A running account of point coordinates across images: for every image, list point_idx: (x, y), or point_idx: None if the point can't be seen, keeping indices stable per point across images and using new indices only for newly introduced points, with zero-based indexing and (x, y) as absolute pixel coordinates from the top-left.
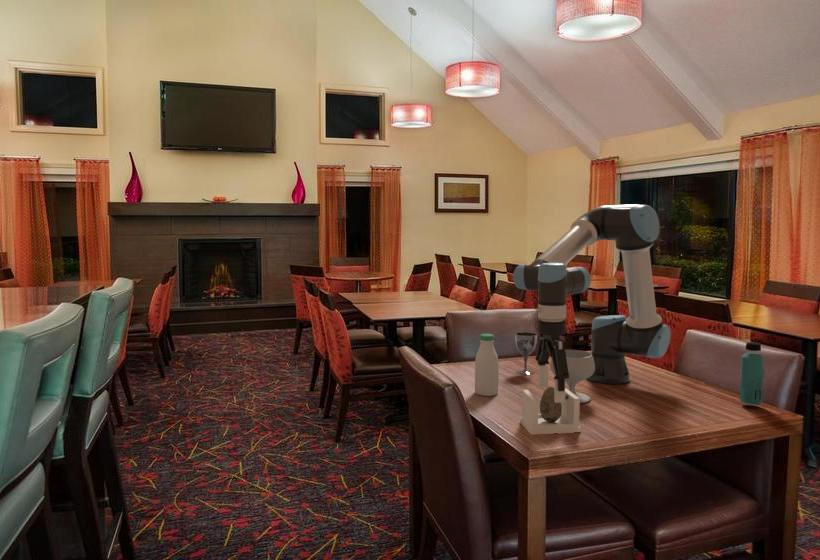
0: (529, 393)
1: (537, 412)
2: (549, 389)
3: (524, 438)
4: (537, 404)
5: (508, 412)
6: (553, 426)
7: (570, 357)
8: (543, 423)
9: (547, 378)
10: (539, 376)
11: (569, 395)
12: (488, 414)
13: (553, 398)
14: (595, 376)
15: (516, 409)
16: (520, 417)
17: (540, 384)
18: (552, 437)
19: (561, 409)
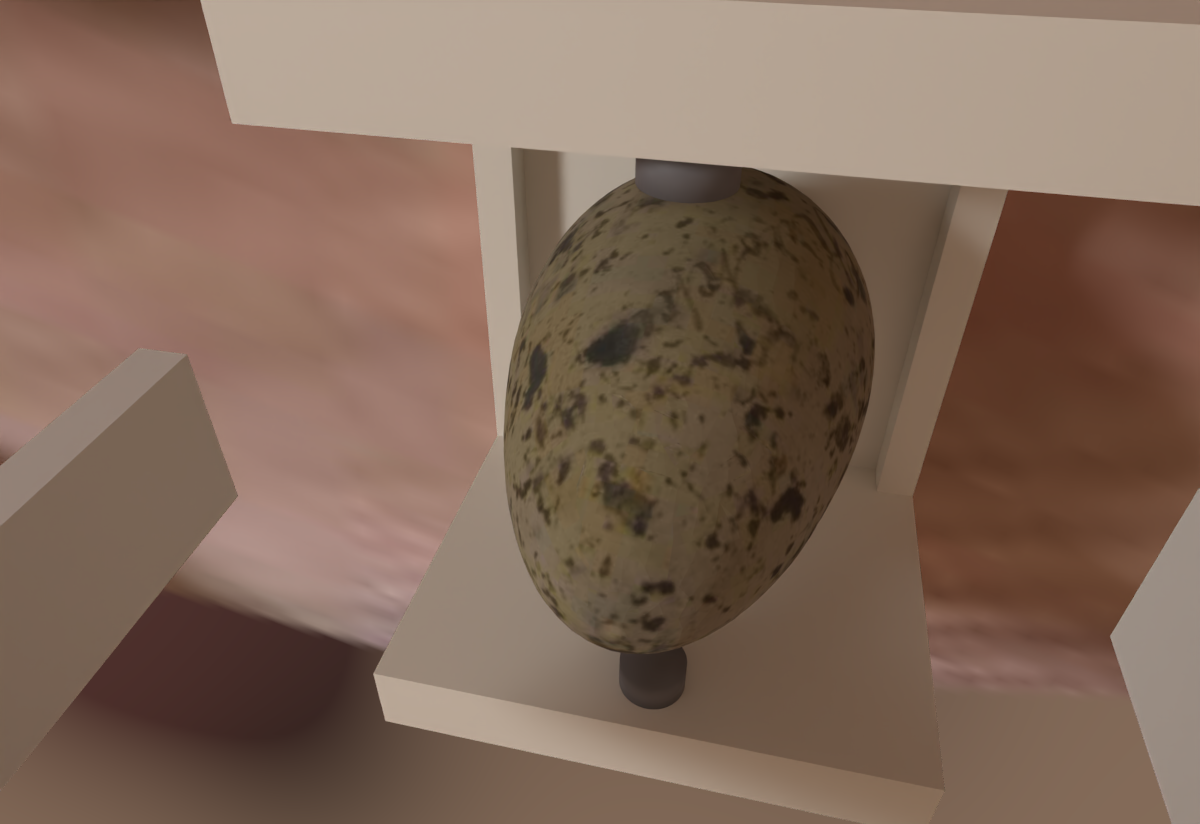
0: (569, 731)
1: (925, 635)
2: (686, 642)
3: (960, 572)
4: (934, 736)
5: (252, 422)
6: (961, 330)
7: None
8: None
9: (52, 492)
10: (92, 671)
11: (822, 170)
12: (324, 569)
13: (820, 507)
14: None
15: (149, 324)
16: None
17: (195, 521)
18: (1057, 340)
19: (805, 222)
